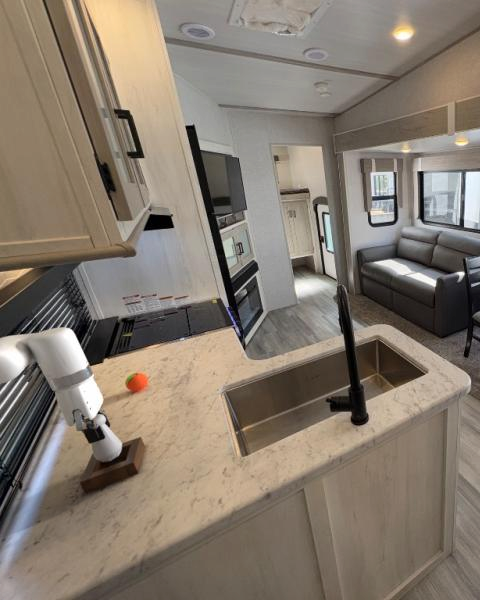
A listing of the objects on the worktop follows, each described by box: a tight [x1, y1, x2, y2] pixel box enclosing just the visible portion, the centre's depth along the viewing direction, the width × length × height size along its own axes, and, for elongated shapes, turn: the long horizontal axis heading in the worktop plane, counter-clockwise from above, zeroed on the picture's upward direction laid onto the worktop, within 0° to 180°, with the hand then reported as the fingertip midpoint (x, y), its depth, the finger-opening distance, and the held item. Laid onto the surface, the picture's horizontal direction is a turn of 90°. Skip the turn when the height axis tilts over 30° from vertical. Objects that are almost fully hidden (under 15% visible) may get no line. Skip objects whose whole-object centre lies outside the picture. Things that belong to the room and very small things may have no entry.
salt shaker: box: [85, 414, 123, 462], centre depth 82 cm, size 6×6×13 cm
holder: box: [79, 436, 146, 495], centre depth 86 cm, size 11×11×4 cm
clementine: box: [124, 372, 149, 392], centre depth 121 cm, size 8×7×7 cm
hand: (100, 434), depth 82 cm, fingers closed on salt shaker, 4 cm apart
